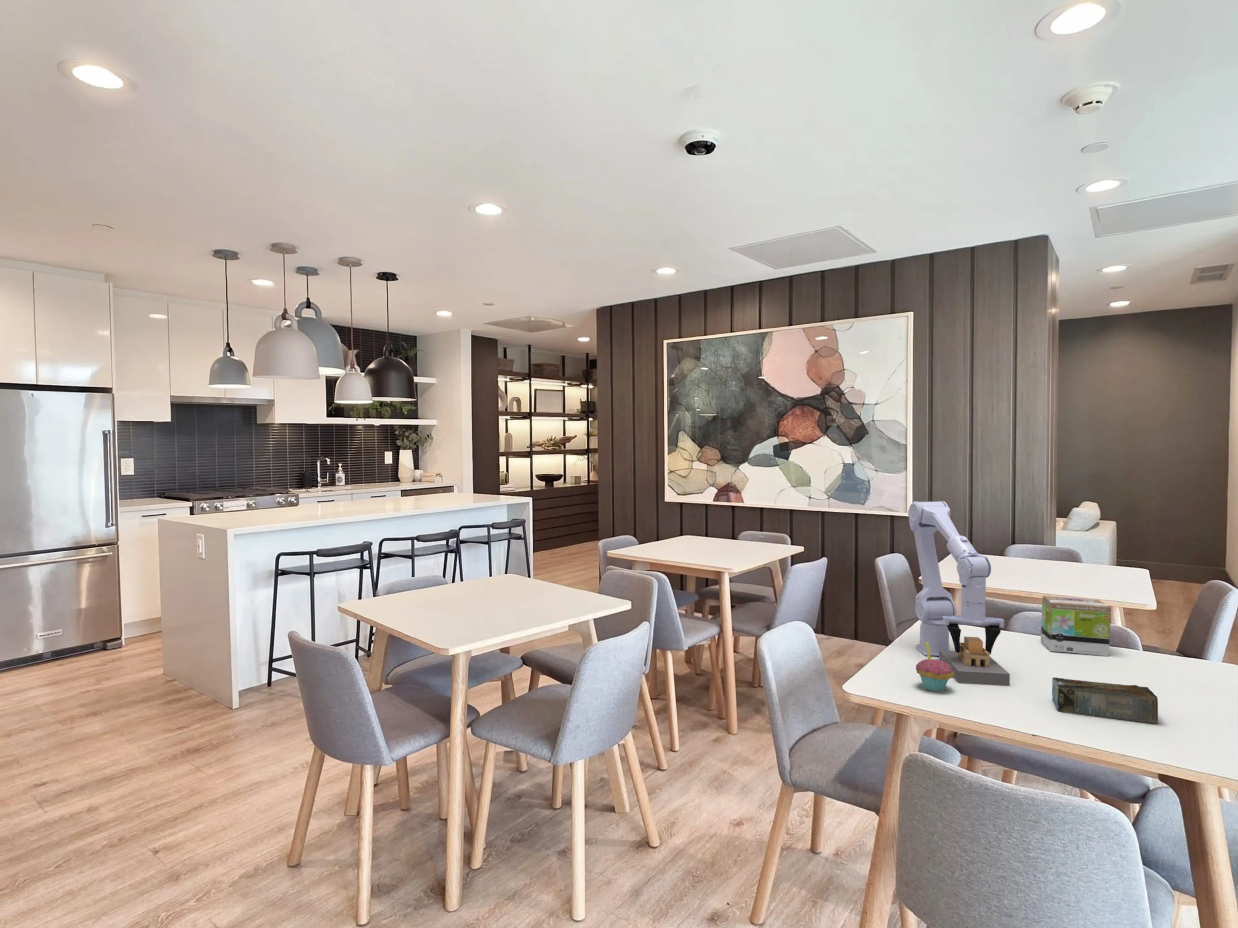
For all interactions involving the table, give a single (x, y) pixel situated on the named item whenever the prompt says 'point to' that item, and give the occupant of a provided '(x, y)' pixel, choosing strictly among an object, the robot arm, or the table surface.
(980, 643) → the light brown block
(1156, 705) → the beverage carton
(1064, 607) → the tea box
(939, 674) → the cupcake
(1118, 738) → the table surface
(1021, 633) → the table surface
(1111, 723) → the table surface
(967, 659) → the pallet
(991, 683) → the dock
